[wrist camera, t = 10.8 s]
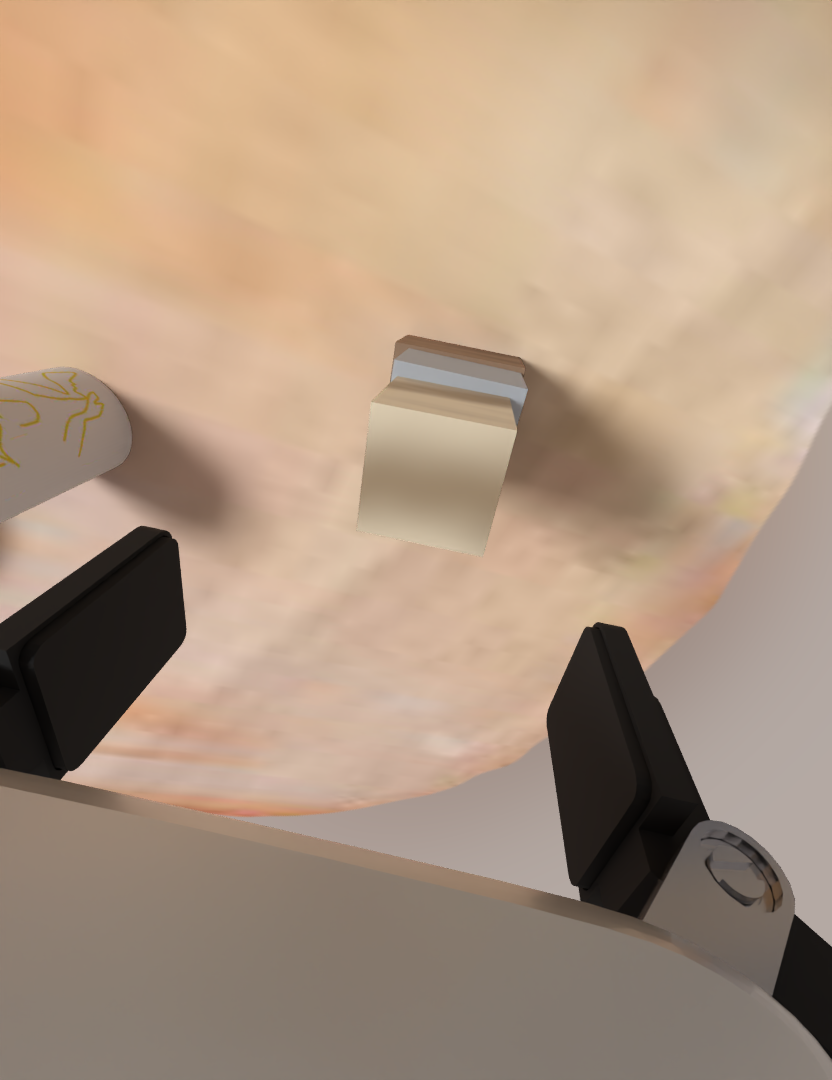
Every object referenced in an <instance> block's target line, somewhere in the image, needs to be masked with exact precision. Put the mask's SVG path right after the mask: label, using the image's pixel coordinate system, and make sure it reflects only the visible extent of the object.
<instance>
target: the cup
mask: <svg viewBox="0 0 832 1080" xmlns="http://www.w3.org/2000/svg"><path fill="white" fill-rule="evenodd" d="M131 446H132V430H131V425H130V422H129V419H128V416H127V414H126V412H125V410H124V408H123V406H122V404H121V403H120V401H119V400H118V399H117V397H116V396H115V395H114V394H113V392H112V391H111V390H110V389H109V388H108V387H107V386H106V385H104V384H103V383H102V382H101V381H99V380H98V379H97V378H95V377H94V376H92V375H90V374H88V373H86V372H84V371H82V370H79V369H75V368H71V367H56V368H50V369H45V370H39V371H34V372H28V373H23V374H17V375H12V376H7V377H1V378H0V523H1V522H4V521H6V520H8V519H10V518H12V517H14V516H16V515H18V514H20V513H22V512H24V511H26V510H28V509H30V508H33V507H35V506H37V505H39V504H41V503H43V502H45V501H47V500H49V499H51V498H53V497H55V496H57V495H59V494H62V493H64V492H66V491H68V490H70V489H72V488H74V487H76V486H78V485H80V484H82V483H84V482H86V481H88V480H91V479H93V478H95V477H97V476H99V475H101V474H103V473H105V472H107V471H109V470H111V469H113V468H115V467H117V466H119V465H120V464H122V463H123V462H124V461H125V459H126V458H127V457H128V455H129V453H130V450H131Z"/></svg>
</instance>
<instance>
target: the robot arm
mask: <svg viewBox="0 0 832 1080" xmlns="http://www.w3.org/2000/svg"><path fill="white" fill-rule="evenodd" d="M185 636H186V620H185V610H184V599H183V589H182V579H181V569H180V559H179V548H178V543H177V541H176V540H175V539H172V536H171V534H170V533H169V532H168V531H165V530H160V529H156V528H151V527H146V526H140V527H138V528H136V529H134V530H133V531H132V532H130V533H129V534H127V535H126V536H124V537H123V538H122V539H120V540H119V541H117V542H116V543H114V544H113V545H112V546H110V547H109V548H107V549H106V550H104V551H103V552H102V553H100V554H99V555H97V556H96V557H94V558H93V559H92V560H90V561H89V562H87V563H86V564H84V565H83V566H82V567H80V568H79V569H77V570H76V571H75V572H73V573H72V574H70V575H69V576H67V577H66V578H65V579H63V580H62V581H60V582H59V583H57V584H56V585H55V586H53V587H52V588H50V589H49V590H47V591H46V592H45V593H43V594H42V595H40V596H39V597H37V598H36V599H35V600H33V601H32V602H30V603H29V604H27V605H26V606H25V607H23V608H22V609H20V610H19V611H17V612H16V613H15V614H13V615H12V616H10V617H9V618H8V619H6V620H5V621H3V622H2V623H0V1080H832V947H831V946H830V945H829V944H828V943H827V942H826V941H824V940H823V939H822V938H821V937H820V936H819V935H817V933H815V932H814V931H813V930H812V929H811V928H809V926H807V925H806V924H805V923H804V922H803V921H802V920H801V919H800V918H798V917H797V916H796V915H795V914H794V913H795V898H794V895H793V892H792V888H791V885H790V883H789V881H788V879H787V877H786V876H785V874H784V872H783V870H782V869H781V867H780V866H779V865H778V863H777V862H776V861H775V860H774V858H773V857H772V856H771V855H770V854H769V852H768V851H766V850H765V849H764V848H763V847H762V846H761V845H760V844H759V843H758V842H757V841H755V840H754V839H753V838H752V837H750V836H749V835H747V834H746V833H744V832H743V831H741V830H739V829H738V828H736V827H734V826H731V825H729V824H726V823H724V822H720V821H713V820H710V819H709V817H708V814H707V812H706V809H705V807H704V805H703V803H702V800H701V798H700V795H699V793H698V791H697V788H696V786H695V784H694V781H693V779H692V776H691V774H690V772H689V769H688V767H687V765H686V762H685V760H684V758H683V755H682V753H681V751H680V748H679V746H678V744H677V742H676V739H675V737H674V734H673V732H672V730H671V727H670V725H669V722H668V720H667V718H666V715H665V713H664V711H663V708H662V706H661V704H660V702H659V701H658V699H657V698H656V697H654V696H653V693H652V691H651V688H650V686H649V684H648V681H647V679H646V677H645V674H644V672H643V669H642V667H641V664H640V662H639V660H638V657H637V655H636V652H635V650H634V648H633V645H632V643H631V640H630V638H629V636H628V633H627V631H626V630H625V628H623V627H619V626H614V625H609V624H604V623H600V622H598V623H595V624H594V626H593V627H586V628H585V629H584V631H583V633H582V635H581V637H580V639H579V642H578V644H577V646H576V648H575V651H574V653H573V655H572V657H571V660H570V662H569V664H568V666H567V669H566V671H565V673H564V675H563V677H562V680H561V682H560V684H559V686H558V689H557V691H556V693H555V695H554V698H553V700H552V702H551V704H550V707H549V709H548V713H547V730H548V737H549V744H550V751H551V758H552V765H553V771H554V778H555V785H556V792H557V799H558V806H559V813H560V819H561V826H562V833H563V840H564V847H565V853H566V860H567V867H568V874H569V879H570V881H571V884H572V885H573V886H578V887H579V893H580V900H581V901H578V900H574V899H570V898H566V897H562V896H558V895H554V894H550V893H547V892H543V891H539V890H535V889H531V888H526V887H523V886H519V885H515V884H511V883H507V882H503V881H499V880H495V879H491V878H487V877H482V876H478V875H474V874H469V873H465V872H461V871H456V870H452V869H448V868H444V867H440V866H435V865H431V864H427V863H423V862H418V861H414V860H409V859H405V858H401V857H397V856H392V855H388V854H384V853H379V852H376V851H371V850H367V849H363V848H358V847H354V846H350V845H345V844H341V843H337V842H332V841H328V840H323V839H319V838H315V837H311V836H306V835H302V834H297V833H293V832H289V831H284V830H280V829H275V828H271V827H267V826H262V825H258V824H253V823H249V822H245V821H240V820H236V819H231V818H227V817H223V816H218V815H214V814H210V813H205V812H201V811H196V810H192V809H188V808H183V807H179V806H174V805H170V804H165V803H161V802H156V801H152V800H147V799H143V798H138V797H134V796H129V795H125V794H120V793H116V792H111V791H107V790H102V789H98V788H93V787H89V786H84V785H80V784H75V783H71V782H66V781H62V780H61V779H62V777H63V776H64V775H65V774H66V773H67V772H68V771H73V770H75V769H77V768H78V767H79V766H80V765H81V764H82V763H83V762H84V761H85V759H86V758H87V757H88V756H89V755H90V753H91V752H92V751H93V750H94V749H95V747H96V746H97V745H98V744H99V743H100V741H101V740H102V739H103V738H104V737H105V735H106V734H107V733H108V732H109V731H110V729H111V728H112V727H113V726H114V725H115V724H116V722H117V721H118V720H119V719H120V718H121V716H122V715H123V714H124V713H125V712H126V710H127V709H128V708H129V707H130V706H131V704H132V703H133V702H134V701H135V700H136V698H137V697H138V696H139V695H140V694H141V692H142V691H143V690H144V689H145V688H146V686H147V685H148V684H149V683H150V682H151V681H152V679H153V678H154V677H155V676H156V675H157V673H158V672H159V671H160V670H161V669H162V667H163V666H164V665H165V664H166V663H167V661H168V660H169V659H170V658H171V657H172V655H173V654H174V653H175V652H176V651H177V649H178V648H179V647H180V646H181V644H182V643H183V641H184V639H185Z"/></svg>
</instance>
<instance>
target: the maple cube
mask: <svg viewBox="0 0 832 1080" xmlns="http://www.w3.org/2000/svg"><path fill="white" fill-rule="evenodd" d="M516 434H517V427H516V423H515V419H514V414H513V410H512V406H511V402H510V398H508V397H503V396H498V395H493V394H487V393H482V392H477V391H472V390H467V389H462V388H457V387H451V386H446V385H441V384H436V383H431V382H426V381H421V380H416V379H410V378H405V377H400V376H397V377H396V378H395V379H394V380H393V381H392V382H391V383H390V384H389V385H388V386H387V387H386V388H385V389H384V390H383V391H382V392H381V393H380V394H379V395H378V396H377V397H375V398H374V399H373V400H372V401H371V407H370V415H369V424H368V433H367V442H366V450H365V459H364V468H363V477H362V485H361V494H360V503H359V512H358V520H357V529H356V531H359V532H364V533H368V534H373V535H378V536H383V537H388V538H393V539H397V540H402V541H407V542H412V543H417V544H422V545H426V546H431V547H436V548H441V549H446V550H451V551H455V552H460V553H465V554H470V555H475V556H479V557H483V555H484V551H485V547H486V544H487V540H488V536H489V533H490V529H491V525H492V522H493V518H494V514H495V511H496V507H497V503H498V500H499V496H500V492H501V489H502V485H503V481H504V478H505V474H506V470H507V467H508V463H509V459H510V456H511V452H512V448H513V445H514V441H515V437H516Z"/></svg>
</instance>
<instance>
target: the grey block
mask: <svg viewBox="0 0 832 1080" xmlns="http://www.w3.org/2000/svg"><path fill="white" fill-rule="evenodd" d="M397 376H400V377H405V378H410V379H416V380H421V381H426V382H431V383H436V384H441V385H446V386H451V387H457V388H462V389H467V390H472V391H477V392H482V393H487V394H493V395H498V396H503V397H508V398H510V402H511V406H512V410H513V414H514V419H515V423H516V427H517V425H518V421H519V418H520V415H521V411H522V408H523V404H524V401H525V398H526V394H527V391H528V388H527V386H526V384H525V381H524V379H523V377H522V375H521V373H519V372H514V371H510V370H505V369H501V368H496V367H492V366H487V365H483V364H478V363H474V362H469V361H465V360H460V359H456V358H451V357H447V356H442V355H438V354H433V353H429V352H424V351H420V350H415V349H411V348H408V349H407V350H406V351H405V352H403V353H402V354H401V355H399V356H398V357H397V358H396V359H394V364H393V370H392V377H391V382H392V381H393V380H394V379H395V378H396V377H397Z"/></svg>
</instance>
